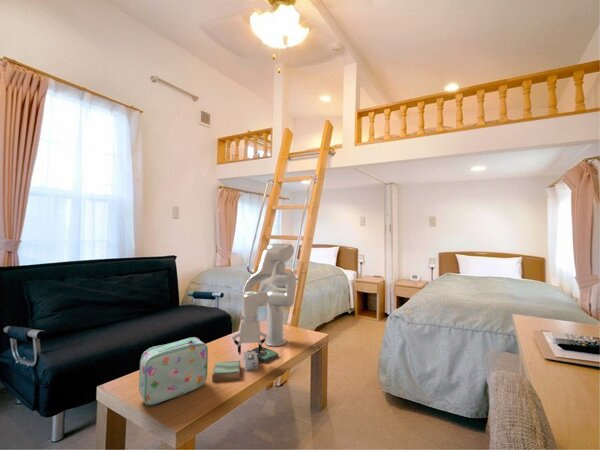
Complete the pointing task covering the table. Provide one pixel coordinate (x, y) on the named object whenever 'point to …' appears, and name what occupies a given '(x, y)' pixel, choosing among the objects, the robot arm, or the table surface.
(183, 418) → the table surface
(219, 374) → the green and brown block
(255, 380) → the table surface
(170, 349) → the lunch box
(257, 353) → the disk drive
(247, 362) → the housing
